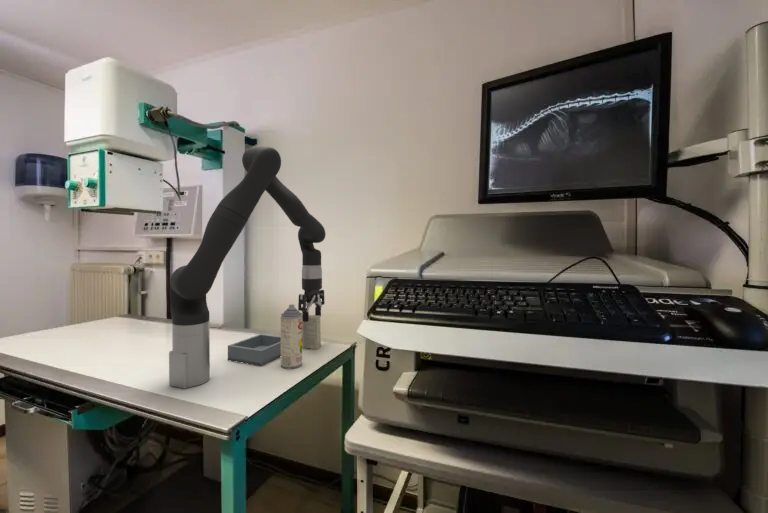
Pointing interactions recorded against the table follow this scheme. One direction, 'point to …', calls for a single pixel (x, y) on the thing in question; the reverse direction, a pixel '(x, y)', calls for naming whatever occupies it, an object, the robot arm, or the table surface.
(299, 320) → the aerosol can
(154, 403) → the table surface
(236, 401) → the table surface
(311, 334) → the skincare box
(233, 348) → the tote
